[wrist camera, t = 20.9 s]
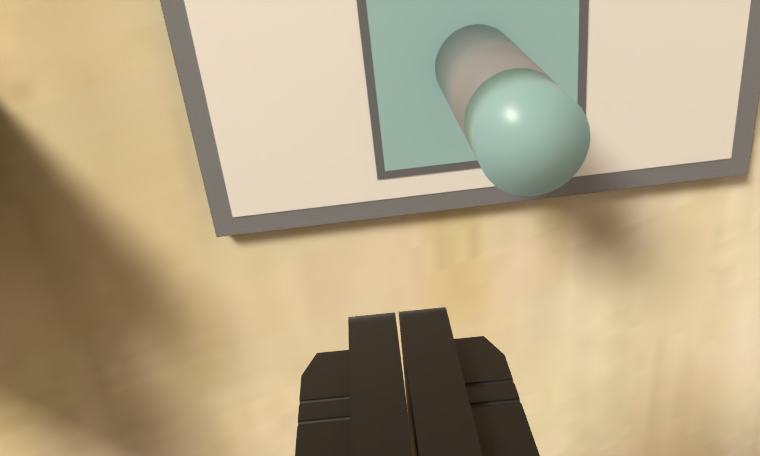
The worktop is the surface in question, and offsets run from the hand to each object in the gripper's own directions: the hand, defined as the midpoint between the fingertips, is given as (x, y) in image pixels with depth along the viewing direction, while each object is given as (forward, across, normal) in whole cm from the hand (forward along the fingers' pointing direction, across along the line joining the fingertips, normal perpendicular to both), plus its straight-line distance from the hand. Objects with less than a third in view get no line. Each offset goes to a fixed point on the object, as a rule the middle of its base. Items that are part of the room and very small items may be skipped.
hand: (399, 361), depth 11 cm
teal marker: (+22, -5, +1) cm, 23 cm away
